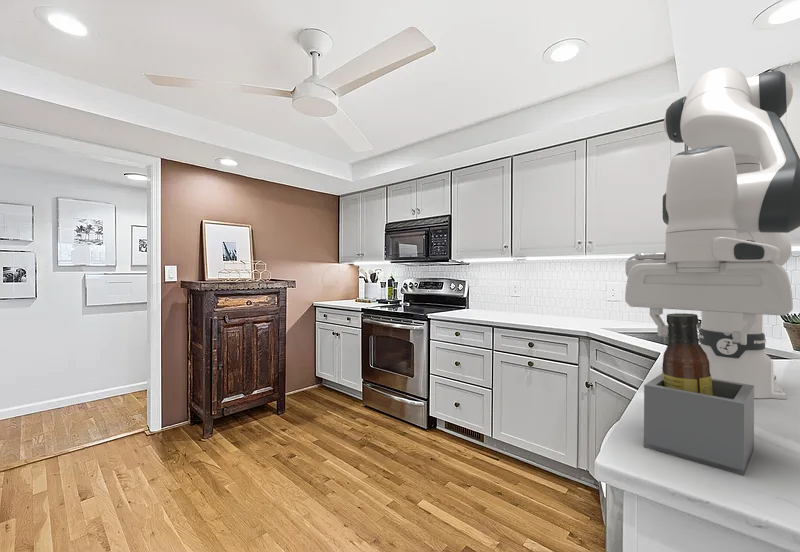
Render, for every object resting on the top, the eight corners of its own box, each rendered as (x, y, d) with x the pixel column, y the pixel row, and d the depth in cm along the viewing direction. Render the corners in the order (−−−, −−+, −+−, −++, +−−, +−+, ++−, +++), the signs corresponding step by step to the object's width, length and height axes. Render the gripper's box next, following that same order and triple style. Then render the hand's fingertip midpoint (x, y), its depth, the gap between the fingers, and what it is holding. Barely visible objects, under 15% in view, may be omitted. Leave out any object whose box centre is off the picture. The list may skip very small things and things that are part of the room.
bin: (665, 427, 68) (665, 371, 67) (753, 449, 59) (754, 385, 59) (643, 448, 59) (644, 384, 59) (743, 478, 51) (744, 403, 51)
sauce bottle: (702, 432, 62) (697, 312, 63) (725, 449, 56) (720, 315, 57) (657, 430, 64) (653, 312, 64) (675, 446, 58) (671, 316, 58)
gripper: (619, 253, 64) (619, 334, 65) (792, 246, 49) (791, 352, 49) (631, 254, 69) (631, 330, 69) (794, 249, 54) (793, 346, 54)
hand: (699, 339), depth 59 cm, fingers open, 8 cm apart
